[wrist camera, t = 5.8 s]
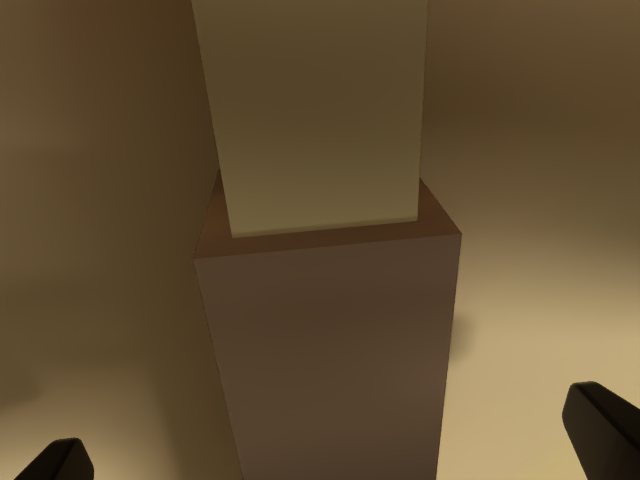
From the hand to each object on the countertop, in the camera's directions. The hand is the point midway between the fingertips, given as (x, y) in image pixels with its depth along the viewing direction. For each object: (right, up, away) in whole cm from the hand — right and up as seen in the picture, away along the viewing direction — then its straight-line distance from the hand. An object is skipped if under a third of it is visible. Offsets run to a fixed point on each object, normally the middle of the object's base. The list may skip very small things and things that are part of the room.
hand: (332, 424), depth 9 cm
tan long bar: (0, +1, +1) cm, 2 cm away
